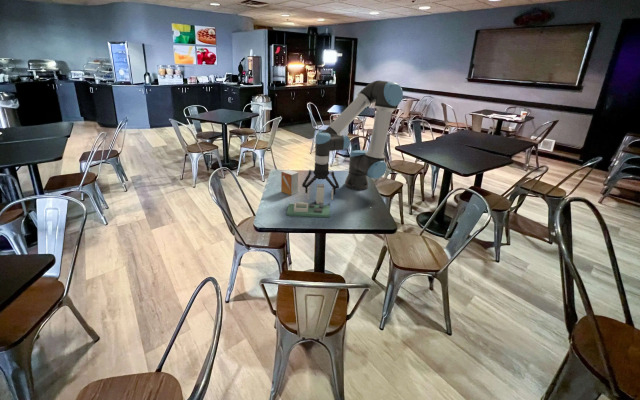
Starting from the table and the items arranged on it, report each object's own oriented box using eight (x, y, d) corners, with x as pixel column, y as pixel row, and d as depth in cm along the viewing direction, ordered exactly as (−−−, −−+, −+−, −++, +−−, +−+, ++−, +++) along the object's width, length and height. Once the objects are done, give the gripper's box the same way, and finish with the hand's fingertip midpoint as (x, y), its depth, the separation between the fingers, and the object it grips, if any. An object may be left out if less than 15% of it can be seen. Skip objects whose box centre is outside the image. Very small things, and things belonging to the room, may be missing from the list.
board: (329, 207, 175) (329, 201, 174) (329, 217, 164) (330, 210, 163) (288, 205, 174) (288, 199, 173) (286, 215, 163) (286, 209, 162)
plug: (323, 201, 182) (324, 184, 178) (323, 204, 179) (324, 186, 174) (316, 200, 182) (317, 183, 178) (316, 203, 178) (317, 186, 174)
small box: (281, 192, 192) (281, 171, 186) (288, 189, 196) (288, 169, 191) (291, 195, 187) (291, 174, 182) (298, 192, 192) (298, 172, 187)
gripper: (344, 161, 175) (341, 197, 183) (298, 159, 174) (298, 195, 183) (345, 165, 168) (342, 202, 176) (298, 163, 167) (297, 200, 176)
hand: (320, 198), depth 179 cm, fingers open, 13 cm apart
